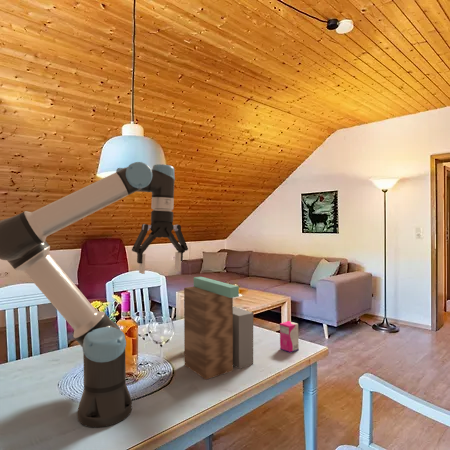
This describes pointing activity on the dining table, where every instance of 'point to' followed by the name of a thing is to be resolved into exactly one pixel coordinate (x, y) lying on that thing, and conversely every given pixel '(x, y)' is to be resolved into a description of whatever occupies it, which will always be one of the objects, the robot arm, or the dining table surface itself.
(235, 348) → the base block
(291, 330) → the supplement box
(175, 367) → the dining table surface
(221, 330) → the stand
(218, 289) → the bar
